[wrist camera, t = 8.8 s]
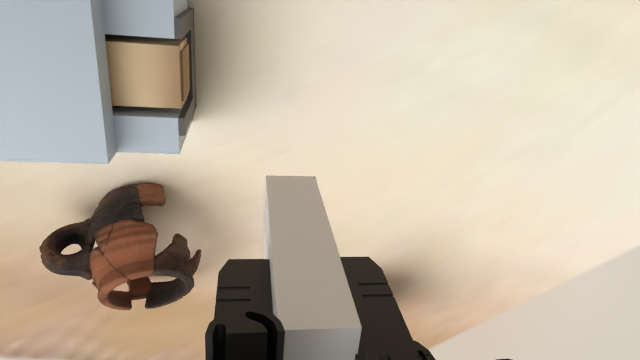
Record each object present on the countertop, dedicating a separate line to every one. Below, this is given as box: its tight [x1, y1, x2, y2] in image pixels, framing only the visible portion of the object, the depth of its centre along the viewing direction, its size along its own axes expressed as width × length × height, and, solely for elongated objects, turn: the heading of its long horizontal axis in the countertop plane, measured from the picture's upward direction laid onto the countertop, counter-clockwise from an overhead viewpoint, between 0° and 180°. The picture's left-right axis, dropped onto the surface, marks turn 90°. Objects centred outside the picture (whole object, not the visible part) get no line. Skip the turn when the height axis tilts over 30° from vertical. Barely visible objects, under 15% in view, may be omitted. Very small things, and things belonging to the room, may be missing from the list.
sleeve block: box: [0, 0, 196, 164], centre depth 30 cm, size 12×10×9 cm
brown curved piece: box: [39, 184, 201, 310], centre depth 39 cm, size 12×10×8 cm
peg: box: [105, 34, 190, 109], centre depth 30 cm, size 12×4×4 cm, turn 85°
